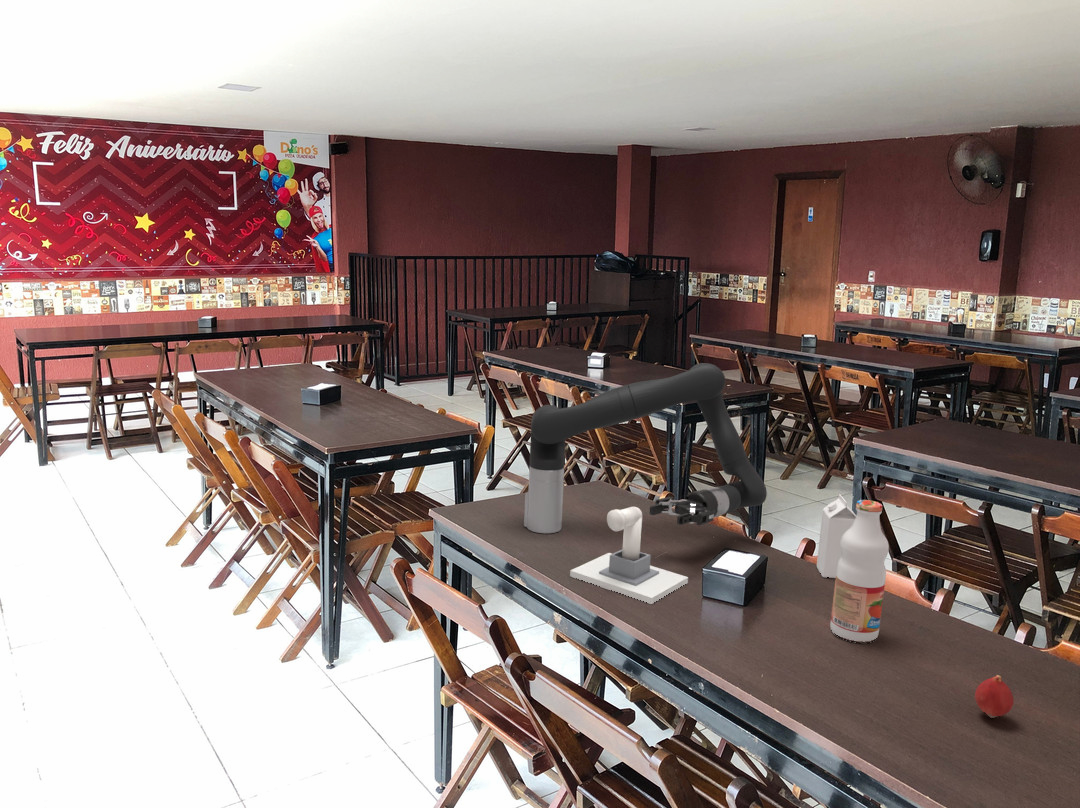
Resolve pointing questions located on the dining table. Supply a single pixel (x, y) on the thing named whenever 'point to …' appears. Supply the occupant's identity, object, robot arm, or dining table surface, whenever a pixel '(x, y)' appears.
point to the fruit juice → (860, 576)
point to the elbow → (627, 530)
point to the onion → (994, 697)
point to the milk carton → (833, 535)
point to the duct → (630, 576)
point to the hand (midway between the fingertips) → (664, 515)
